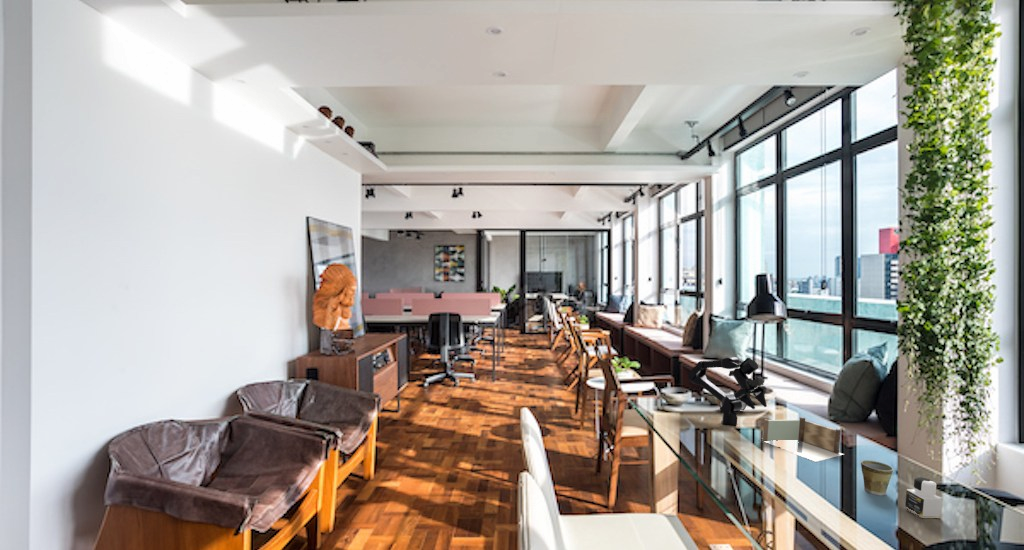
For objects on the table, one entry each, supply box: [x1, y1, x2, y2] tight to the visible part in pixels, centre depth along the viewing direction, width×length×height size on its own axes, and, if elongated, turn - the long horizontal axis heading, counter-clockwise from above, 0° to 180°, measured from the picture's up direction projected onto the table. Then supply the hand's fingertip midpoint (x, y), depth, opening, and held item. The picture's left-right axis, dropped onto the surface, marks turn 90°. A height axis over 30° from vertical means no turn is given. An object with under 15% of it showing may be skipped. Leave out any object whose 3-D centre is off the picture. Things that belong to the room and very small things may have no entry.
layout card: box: [792, 440, 845, 463], centre depth 243 cm, size 28×22×1 cm
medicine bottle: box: [904, 476, 943, 517], centre depth 182 cm, size 7×7×12 cm
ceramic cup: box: [860, 459, 894, 496], centre depth 200 cm, size 13×10×10 cm
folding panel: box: [762, 419, 800, 441], centre depth 249 cm, size 18×2×10 cm, turn 101°
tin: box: [717, 399, 747, 411], centre depth 298 cm, size 15×3×8 cm, turn 84°
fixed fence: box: [798, 416, 842, 454], centre depth 244 cm, size 19×2×11 cm, turn 30°
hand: (760, 407), depth 258 cm, fingers open, 9 cm apart
